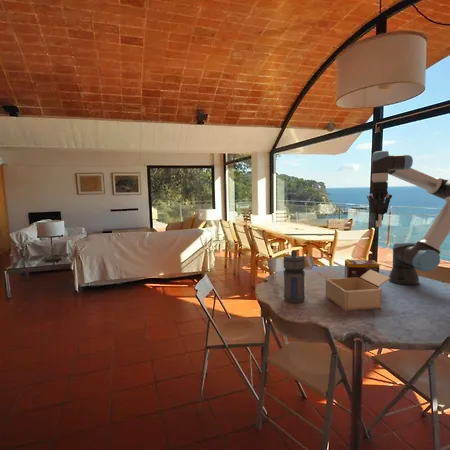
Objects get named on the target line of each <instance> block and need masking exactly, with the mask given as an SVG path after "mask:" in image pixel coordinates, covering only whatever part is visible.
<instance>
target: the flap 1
mask: <svg viewBox="0 0 450 450" xmlns="http://www.w3.org/2000/svg"><path fill="white" fill-rule="evenodd" d="M317 274H318V275H320V276H321V277H323V278H324V279H325V280H326V279H327V280H329V281H331V280H330V279H331V278H328V277H327V276H325V275H324V274H322V273H321V272H318V271H317ZM331 282H332V283H334V282H333V281H331ZM334 284H335V285H337V284H336V283H334ZM337 286H338V287H340V288H342V287H341V286H339V285H337ZM342 289H343V288H342Z"/></svg>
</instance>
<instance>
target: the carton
mask: <svg viewBox="0 0 450 450" xmlns="http://www.w3.org/2000/svg"><path fill="white" fill-rule="evenodd" d="M329 279H330V280H331V281H333V282H334V283H336V284H337V285H339V286H341V287H342V288H343V289H342V288H340V287H338V286H337V285H335V284H334V283H332V282H331V281H329V280H327V279H326V278H325V297H326V298H328V299H329V300H330V301H332V302H333V303H334V304H335V305H337V306H338V307H339V308H341V309H342V310H343V311H344V312H350V311H351V312H352V311H363V310H377V309H379V310H380V309H382V294H383V293H382V288H381V287H379V288H378V287H376V286H374V285H372V284H370V283H368V282H366V281H364V280H362V279H360V278H358V277H354V278H345V277H340V278H329Z"/></svg>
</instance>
